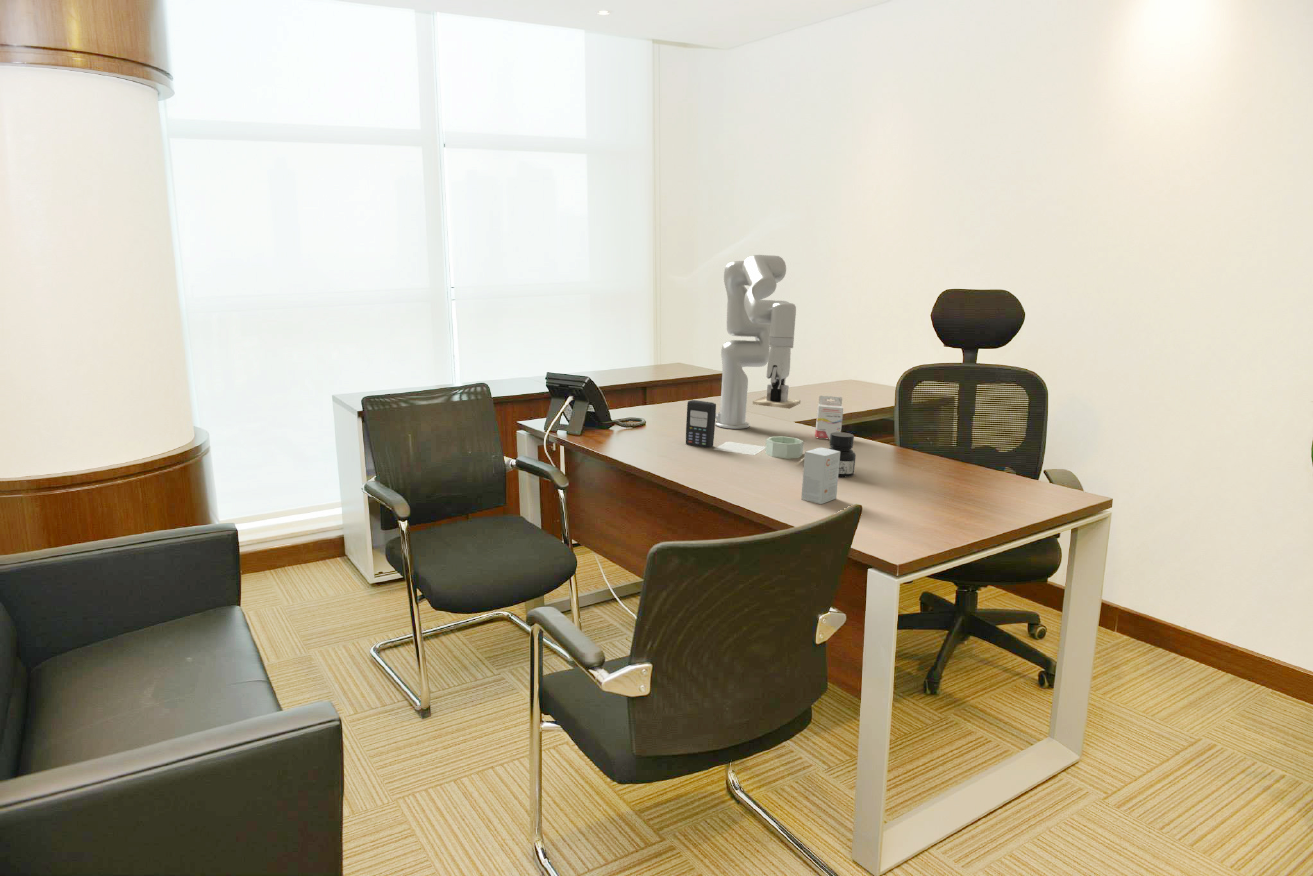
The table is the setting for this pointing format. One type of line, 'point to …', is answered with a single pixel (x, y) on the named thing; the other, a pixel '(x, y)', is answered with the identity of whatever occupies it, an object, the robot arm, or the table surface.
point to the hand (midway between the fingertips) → (777, 400)
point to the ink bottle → (844, 452)
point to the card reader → (700, 423)
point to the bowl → (784, 447)
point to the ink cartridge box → (828, 416)
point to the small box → (820, 475)
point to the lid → (782, 404)
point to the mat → (740, 448)
